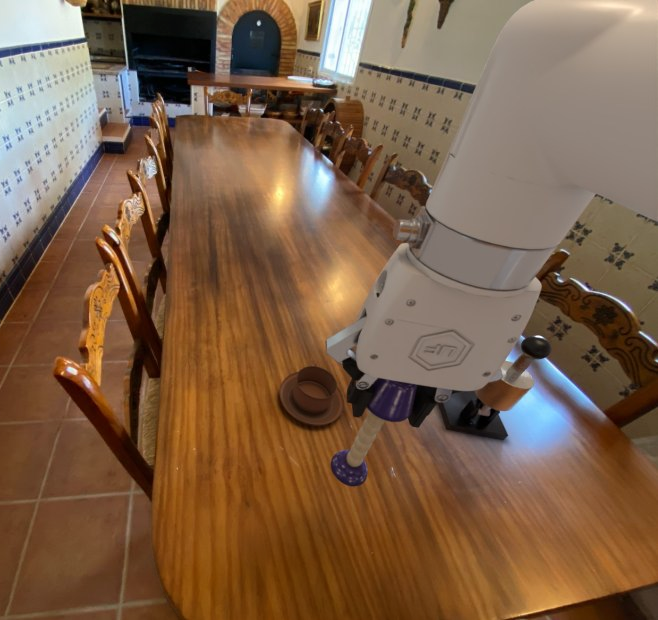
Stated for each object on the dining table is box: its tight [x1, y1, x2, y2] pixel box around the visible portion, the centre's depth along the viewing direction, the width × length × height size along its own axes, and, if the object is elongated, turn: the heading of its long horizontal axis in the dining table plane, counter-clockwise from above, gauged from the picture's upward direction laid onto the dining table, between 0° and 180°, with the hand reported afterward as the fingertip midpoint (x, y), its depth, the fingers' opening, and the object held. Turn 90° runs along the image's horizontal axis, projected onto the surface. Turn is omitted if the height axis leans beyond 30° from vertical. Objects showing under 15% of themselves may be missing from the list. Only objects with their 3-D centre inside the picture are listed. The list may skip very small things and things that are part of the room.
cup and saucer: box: [279, 362, 345, 427], centre depth 66 cm, size 12×12×6 cm
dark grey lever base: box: [437, 390, 509, 441], centre depth 66 cm, size 10×10×7 cm
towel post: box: [475, 335, 553, 416], centre depth 59 cm, size 6×6×19 cm
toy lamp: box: [330, 378, 417, 488], centre depth 37 cm, size 5×5×17 cm
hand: (383, 408), depth 35 cm, fingers closed on toy lamp, 4 cm apart
